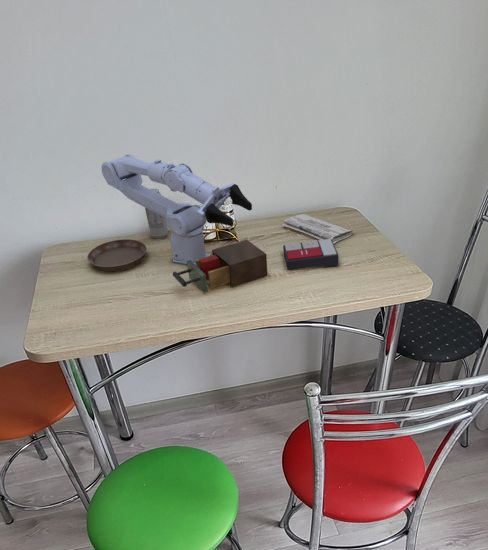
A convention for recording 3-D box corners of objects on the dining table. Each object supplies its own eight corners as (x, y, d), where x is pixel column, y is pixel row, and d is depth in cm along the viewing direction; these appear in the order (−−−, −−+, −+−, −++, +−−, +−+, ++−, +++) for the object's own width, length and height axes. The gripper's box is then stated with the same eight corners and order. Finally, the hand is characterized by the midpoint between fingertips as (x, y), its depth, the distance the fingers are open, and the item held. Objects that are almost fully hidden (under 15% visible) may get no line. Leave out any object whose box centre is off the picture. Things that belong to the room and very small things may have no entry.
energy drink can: (171, 232, 165) (163, 188, 156) (164, 239, 161) (156, 195, 152) (155, 231, 167) (146, 187, 157) (147, 238, 162) (138, 194, 153)
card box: (205, 280, 134) (202, 262, 130) (201, 277, 135) (199, 259, 132) (220, 276, 136) (218, 257, 132) (217, 272, 137) (215, 254, 134)
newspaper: (279, 227, 165) (279, 219, 164) (304, 220, 172) (305, 213, 171) (329, 246, 151) (330, 238, 150) (354, 237, 158) (355, 230, 157)
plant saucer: (130, 277, 141) (128, 268, 139) (78, 271, 145) (75, 262, 143) (158, 250, 154) (156, 241, 152) (109, 245, 158) (106, 237, 157)
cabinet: (232, 287, 134) (230, 265, 130) (214, 271, 142) (211, 249, 138) (267, 275, 138) (266, 253, 134) (248, 260, 146) (246, 239, 142)
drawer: (186, 298, 129) (183, 281, 126) (172, 282, 136) (169, 266, 133) (238, 281, 135) (236, 264, 132) (221, 267, 142) (219, 251, 139)
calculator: (282, 242, 147) (331, 236, 147) (283, 255, 150) (331, 249, 150) (286, 259, 138) (338, 252, 138) (287, 272, 141) (338, 266, 141)
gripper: (183, 194, 125) (223, 218, 121) (220, 166, 131) (259, 188, 127) (186, 215, 131) (224, 238, 127) (221, 187, 137) (258, 208, 133)
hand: (241, 215), depth 128 cm, fingers open, 7 cm apart
